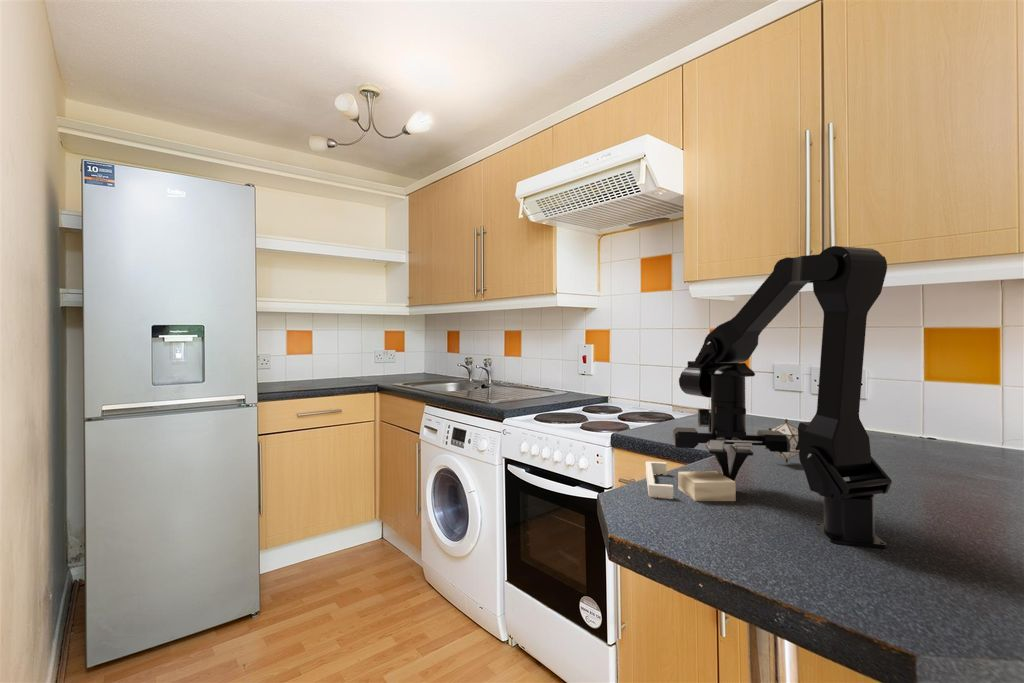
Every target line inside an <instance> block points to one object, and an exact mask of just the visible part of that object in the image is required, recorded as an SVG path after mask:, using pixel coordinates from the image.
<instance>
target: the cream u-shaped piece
mask: <svg viewBox="0 0 1024 683" xmlns="http://www.w3.org/2000/svg"><path fill="white" fill-rule="evenodd" d="M667 466H668V465H667V462H666V461H665V462H664V461H645V477H646V478H645V479H646V484H647V493H648V497H649V498H657V497H658V499H659V498H660V499H670V500H674V485H673V484H663V483H662V484H661V483H656V479H655V475H658V476H661V475H660V474H663V473H665V474H663V475H662V476H667V475H668V473H667V472H668V471H667V470H668V469H667Z"/></svg>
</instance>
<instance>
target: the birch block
mask: <svg viewBox="0 0 1024 683" xmlns="http://www.w3.org/2000/svg"><path fill="white" fill-rule="evenodd" d="M677 472H678V473H677V475H678V476H677V480H678V481H677V484H678V485H677V487H678V488H677V489H678V490H679V491H681V493H683V494H684V495H686V496H688V498H691V499H692V501H694V502H736V501H737V500H736V499H737V498H736V495H737V494H736V493H737V492H736V491H737V490H736V489H737V486H736V481H733V480H731V479H729V478H728V477H726V476H724V475H722V473H720V472H718V471H717V470H705V471H703V470H702V471H701V470H700V471H699V470H698V471H697V470H696V471H695V470H693V471H691V470H690V471H677Z"/></svg>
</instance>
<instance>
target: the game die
mask: <svg viewBox="0 0 1024 683" xmlns="http://www.w3.org/2000/svg"><path fill="white" fill-rule="evenodd" d="M788 421H789V420H788V419H787V418H785V420H784V423H782V424H779V425H778V426H776V427H774V428H771V427H767V430H774V431H780V432H781V433H783V434H784V435H786V436H787V437H788V438H789V441H790V452H775V453H776V454H777V455H779V456H780V457H782V458H783V459H785V462H786V464H787V463H788V462H789V459H791V458H793V457H795V456H799V450H795V448H796V446H797V443H798V427H795V426H793V425H791V423H788ZM764 450H768V449H767V448H766V447H765V446H764Z"/></svg>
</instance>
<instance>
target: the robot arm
mask: <svg viewBox="0 0 1024 683" xmlns="http://www.w3.org/2000/svg"><path fill="white" fill-rule="evenodd" d="M887 271H888V263H887V259H886V256H884V255H882V253H880V252H879V250H876V249H874V248H867V247H866V248H865V247H853V246H841V245H840V246H837V245H834V246H829V247H827V248H825V249H823V250H822V251H821V252H820V253H819V254H810V255H801V256H795V257H788V256H787V257H784V258H782V259H779V260H778V261H777V262H775V264H774V266H773V271H772V272H771V273H770V274H769V276H768V277H767V278H766V279H765V280H764V281H763V283H762V284H761V285H760V286H759V287H758V289H757V290H756V291H755V292H754V293H753V294H752V295H751V297H749V299H748V300H747V302H746V303H745V304H744V305H743V307H741V308H740V309H739V311H738V312H737V313H736V314H735V316H733V317H732V318H731V319H729V320H727V321H725V322H723V323H720V324H719V325H717V326H716V327H715V328H714V329H712V330H711V331H710V332H709V333H708V334H707V335H706V337H705V339H704V342H703V344H702V346H701V348H700V350H699V352H698V354H697V356H696V357H695V359H694V360H692V361H691V360H689V361H687V367H686V368H684V369H683V370H682V371H681V373H680V375H679V378H678V385H679V388H680V389H681V391H682V392H683V393H684V394H686V395H689V396H697V397H704V398H709V399H710V410H709V409H708V408H707V409H706V408H703V409H702V408H699V409H697V424H698V425H697V426H698V427H703V428H708V429H707V430H708V432H698V430H697V429H696V427H675V428H674V429H673V430H672V442H673V444H674V447H675V448H678V449H695V448H696V447H697V446H698V445H699V444H705V445H704V447H705V449H706V451H707V452H708V453H709V455H710V454H711V455H714V457H715V459H716V462H717V464H718V467H719V469H720V472H721V474H722V475H724V476H726V477H728V478H729V479H731V480H733V481H735V480H736V478H737V477H738V474H739V471H740V469H741V467H742V466H743V464H744V462H745V461H746V459H747V458H748V457H749V456H754V452H753V451H752V448H753V446H763V447H764V448H765V447H766V448H767V449H766V450H769V452H772V453H773V452H774V453H776V452H790V441H789V438H788V437H787V436H786V435H784V434H783V433H781V432H780V431H774V430H769V429H767V430H766V429H758V430H757V433H756V434H747V430H746V428H747V426H746V422H747V421H746V417H747V408H746V377H747V378H748V377H750V378H751V377H755V376H756V372H755V371H753V369H751V368H750V367H749V366H748V365H747V363H746V362H747V361H748V360H749V358H750V357H751V356H752V354H753V353H754V352H755V350H756V349H757V348H758V346H759V337H760V335H761V333H762V332H763V331H764V329H766V328H767V326H768V325H769V324H770V323H772V321H773V320H774V319H775V318H776V316H778V315H779V313H780V312H781V311H782V310H784V308H785V307H786V306H787V305H788V304H790V302H791V300H793V299H794V297H796V295H797V294H798V293H799V292H800V291H801V290H802V289H803V288H804V287H805V286H806V285H807V284H812V289H813V294H814V296H815V297H816V299H817V301H818V304H819V306H820V307H821V309H822V311H823V322H822V335H821V336H822V337H821V346H820V347H821V348H820V350H821V351H820V362H819V375H818V376H819V377H818V391H817V401H816V402H817V404H816V412H815V415H814V416H813V417H812V419H811V420H810V421H804V422H799V424H798V427H797V429H798V443H797V446H796V448H795V450H799V454H798V457H799V458H798V460H799V463H800V465H801V466H802V467H803V471H804V475H805V477H806V481H807V484H808V487H809V490H810V491H812V492H814V493H817V494H818V495H819V496H821V497H823V522H822V523H820V522H815V523H814V528H815V529H816V530H817V531H818V532H819V533H820V534H821V535H822V536H823V537H824V538H825V539H826V540H827V541H828V542H829V543H830V544H835V545H845V546H858V547H868V548H869V547H870V548H872V547H873V548H880V549H881V548H884V549H886V548H888V547H887V546H888V544H887V543H886V542H885V541H884V540H883V539H882V538H880V537H879V536H877V535H876V532H875V530H876V529H875V495H880V494H882V495H884V494H885V495H886V494H888V493H889V491H890V488H891V484H892V482H893V480H892V479H891V477H889V475H888V474H887V473H886V472H885V471H884V469H883V468H882V466H880V465H879V463H877V462H876V460H875V459H874V457H872V455H871V444H870V442H871V441H870V436H869V434H868V433H867V430H866V429H865V427H864V425H863V423H862V421H861V419H860V409H861V408H860V405H861V396H862V394H861V393H862V392H861V391H862V383H863V382H862V379H863V370H864V369H863V367H864V358H865V357H864V356H865V340H866V332H867V331H866V329H867V319H868V318H867V317H868V313H869V312H870V309H871V308H872V307H873V306H874V304H875V302H876V301H877V300H878V298H879V296H880V295H881V294H882V290H883V288H884V282H885V278H886V275H887ZM725 445H729V458H728V451H727V450H726V449H725V448H724V447H725ZM844 478H849V480H845V479H844ZM735 482H736V481H735Z"/></svg>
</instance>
